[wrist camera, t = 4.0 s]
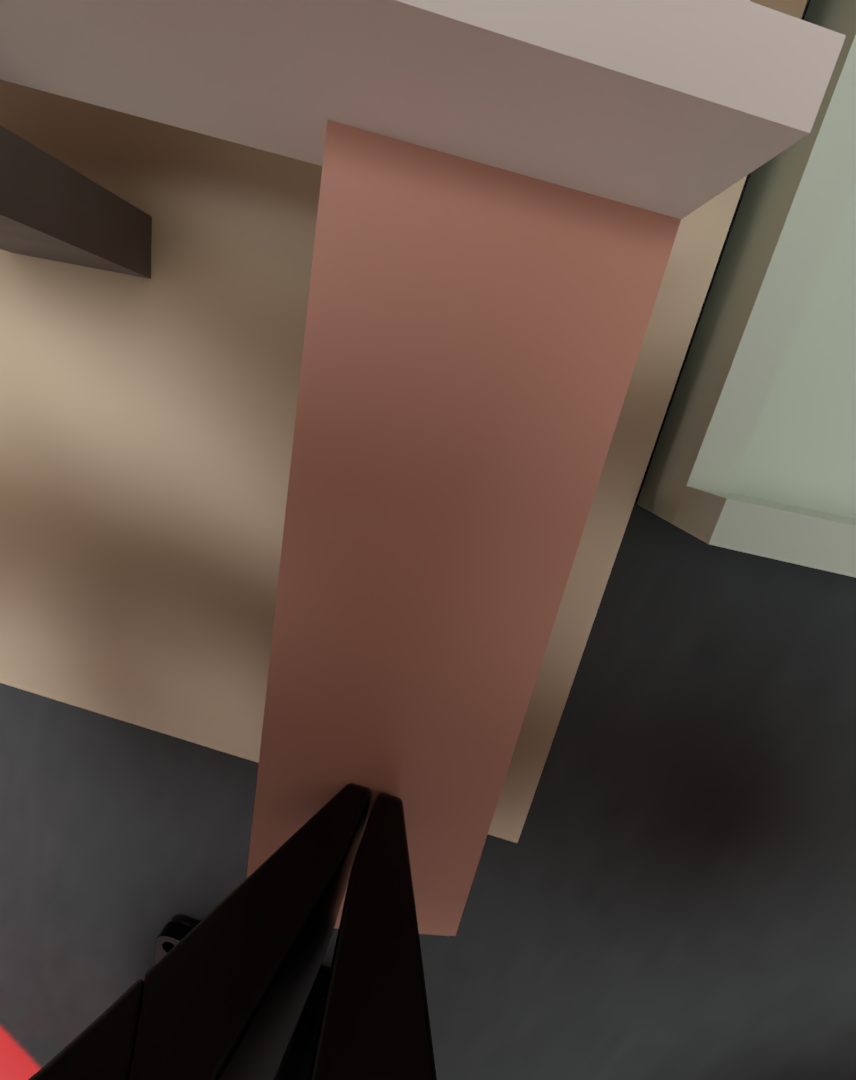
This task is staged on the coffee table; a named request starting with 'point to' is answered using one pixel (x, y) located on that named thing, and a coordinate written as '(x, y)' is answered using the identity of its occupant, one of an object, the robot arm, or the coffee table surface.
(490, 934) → the coffee table surface
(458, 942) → the coffee table surface
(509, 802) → the lever stand
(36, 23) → the lever
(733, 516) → the tray
